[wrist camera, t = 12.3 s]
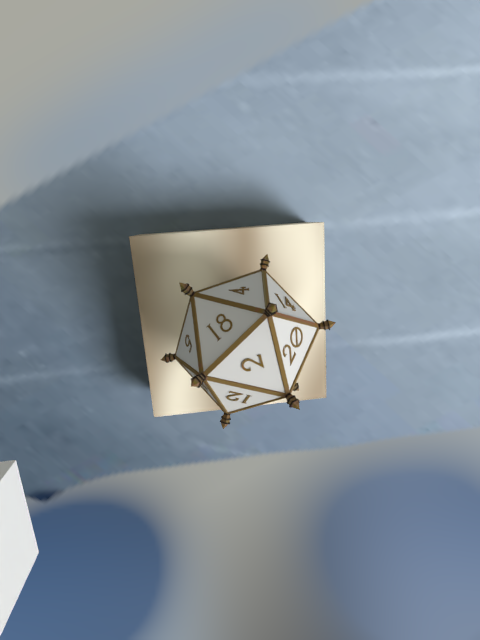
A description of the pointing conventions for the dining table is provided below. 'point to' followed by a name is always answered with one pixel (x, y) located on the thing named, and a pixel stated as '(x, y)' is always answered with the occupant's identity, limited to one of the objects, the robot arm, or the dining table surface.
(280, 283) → the birch base
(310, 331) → the game die
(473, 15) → the dining table surface
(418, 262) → the dining table surface
